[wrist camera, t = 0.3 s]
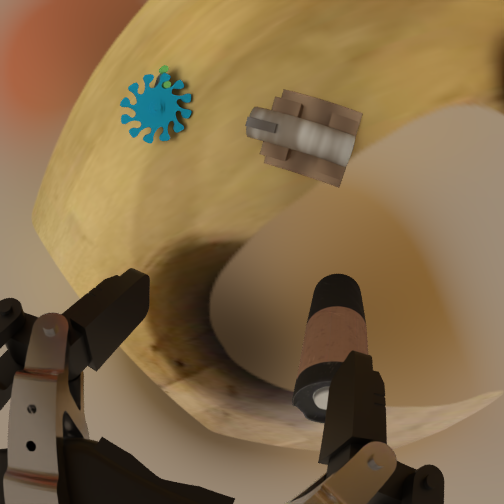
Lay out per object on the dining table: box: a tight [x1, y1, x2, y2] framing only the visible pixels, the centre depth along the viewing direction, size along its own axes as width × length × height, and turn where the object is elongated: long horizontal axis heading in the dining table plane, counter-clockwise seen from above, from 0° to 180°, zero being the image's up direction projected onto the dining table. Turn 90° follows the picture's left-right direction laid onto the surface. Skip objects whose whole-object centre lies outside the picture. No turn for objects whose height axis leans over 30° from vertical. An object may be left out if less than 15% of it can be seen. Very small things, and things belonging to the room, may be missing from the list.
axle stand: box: [245, 89, 363, 187], centre depth 29 cm, size 12×10×8 cm
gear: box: [120, 65, 192, 144], centre depth 33 cm, size 11×6×10 cm
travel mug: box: [292, 274, 368, 423], centre depth 32 cm, size 8×8×20 cm
